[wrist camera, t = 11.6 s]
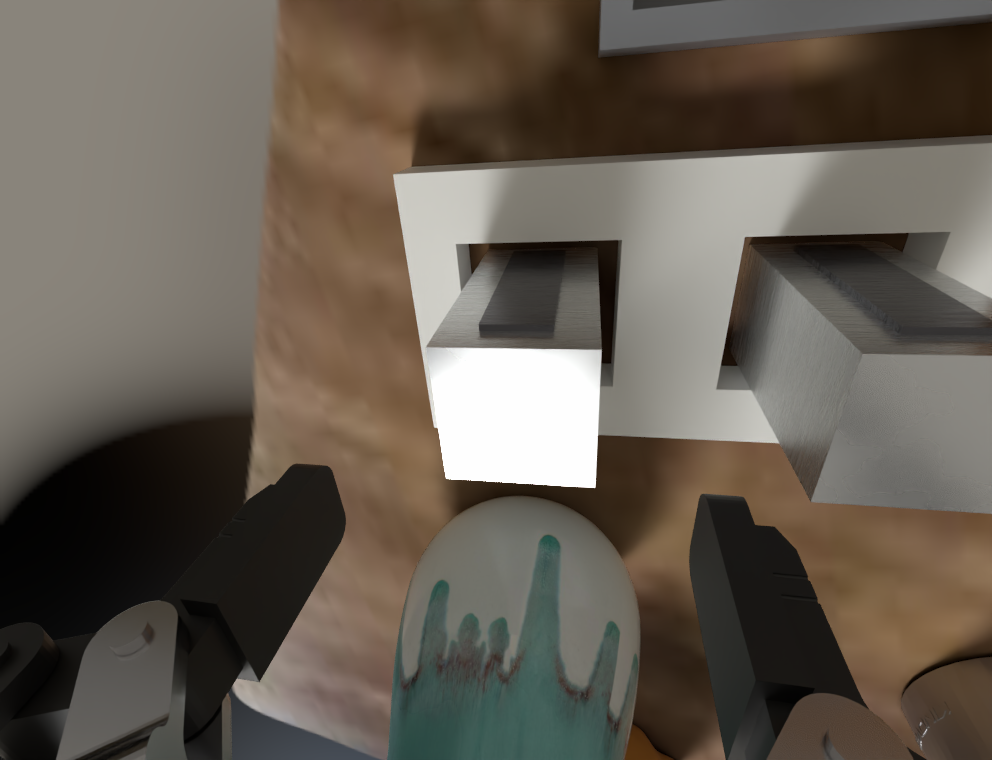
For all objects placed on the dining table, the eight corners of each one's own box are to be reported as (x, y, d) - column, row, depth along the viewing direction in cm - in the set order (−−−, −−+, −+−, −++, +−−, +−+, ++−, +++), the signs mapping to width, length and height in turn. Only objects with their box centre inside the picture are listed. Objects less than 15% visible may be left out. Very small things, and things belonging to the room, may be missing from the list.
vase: (427, 578, 32) (277, 1023, 17) (444, 443, 26) (233, 953, 11) (601, 622, 31) (611, 1128, 16) (662, 494, 25) (772, 1119, 10)
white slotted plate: (1016, 133, 15) (1069, 139, 14) (895, 420, 21) (922, 449, 19) (410, 166, 19) (392, 174, 17) (445, 404, 24) (434, 427, 23)
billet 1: (597, 242, 19) (602, 342, 11) (593, 346, 21) (595, 487, 14) (487, 244, 20) (424, 340, 12) (495, 345, 22) (446, 478, 15)
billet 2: (882, 235, 17) (1111, 348, 10) (844, 350, 20) (1005, 514, 12) (750, 238, 18) (865, 345, 10) (728, 348, 20) (810, 502, 13)
